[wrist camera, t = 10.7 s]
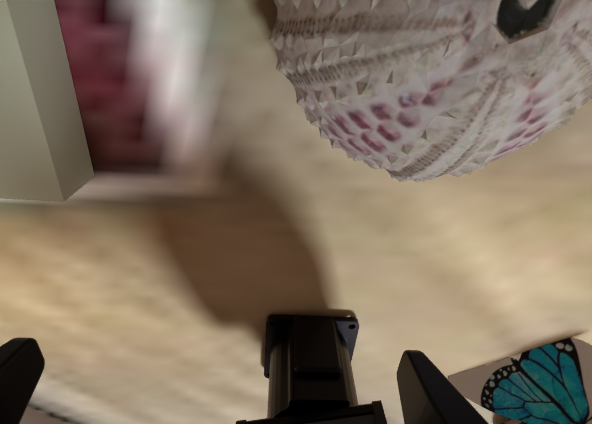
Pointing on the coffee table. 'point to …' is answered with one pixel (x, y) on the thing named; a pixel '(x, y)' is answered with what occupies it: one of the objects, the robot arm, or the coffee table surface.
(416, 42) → the sea urchin shell
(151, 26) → the coffee table surface
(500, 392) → the decorative butterfly
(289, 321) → the robot arm
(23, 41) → the sage base block
